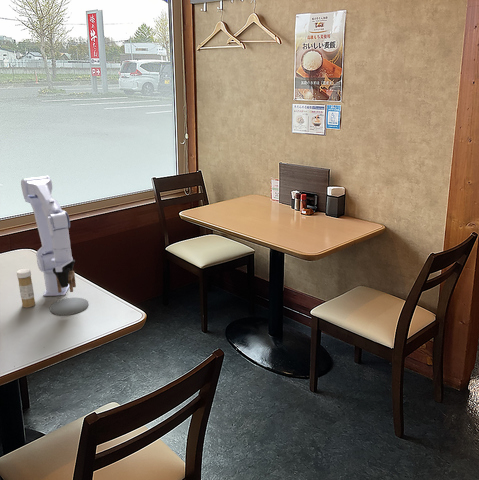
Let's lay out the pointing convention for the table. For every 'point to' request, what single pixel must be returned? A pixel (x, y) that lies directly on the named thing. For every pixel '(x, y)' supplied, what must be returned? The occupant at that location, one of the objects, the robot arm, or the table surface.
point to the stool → (70, 281)
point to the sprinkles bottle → (26, 287)
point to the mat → (69, 306)
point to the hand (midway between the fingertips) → (66, 283)
